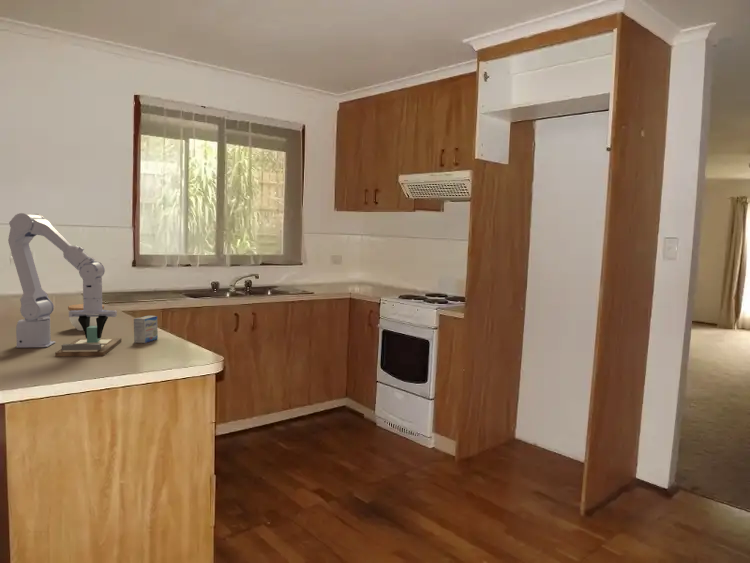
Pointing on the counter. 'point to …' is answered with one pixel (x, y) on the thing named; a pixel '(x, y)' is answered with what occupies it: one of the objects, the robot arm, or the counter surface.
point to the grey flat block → (82, 347)
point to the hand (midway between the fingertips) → (93, 337)
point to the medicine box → (145, 329)
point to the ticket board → (97, 353)
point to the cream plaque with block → (93, 337)
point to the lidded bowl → (74, 320)
